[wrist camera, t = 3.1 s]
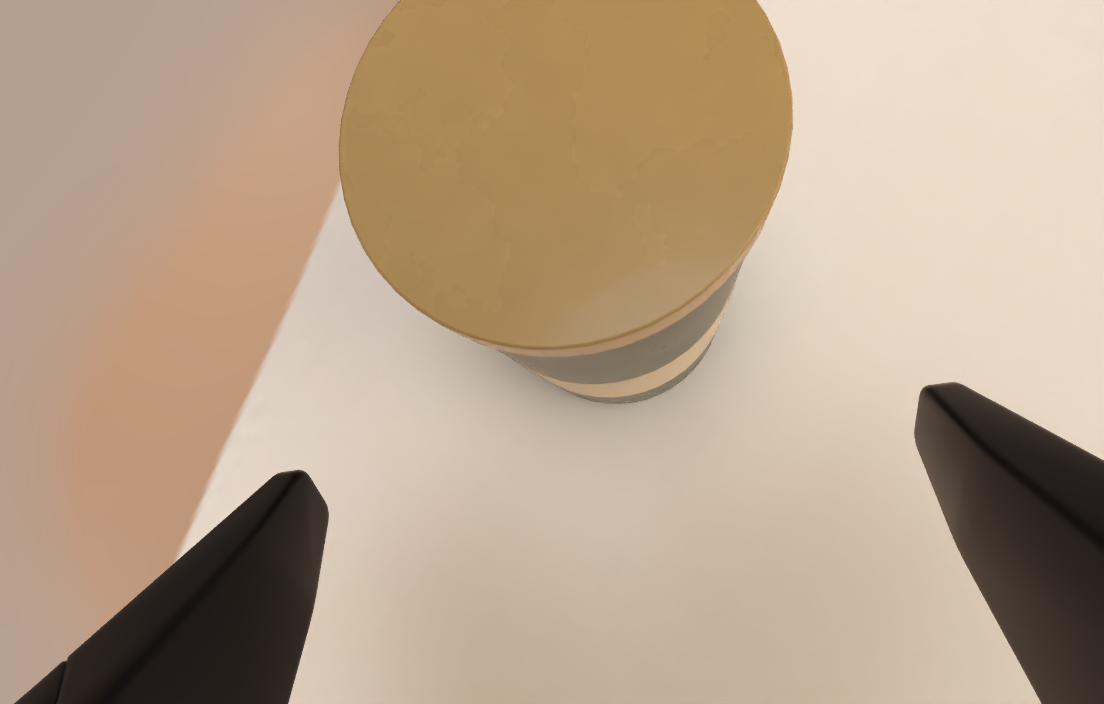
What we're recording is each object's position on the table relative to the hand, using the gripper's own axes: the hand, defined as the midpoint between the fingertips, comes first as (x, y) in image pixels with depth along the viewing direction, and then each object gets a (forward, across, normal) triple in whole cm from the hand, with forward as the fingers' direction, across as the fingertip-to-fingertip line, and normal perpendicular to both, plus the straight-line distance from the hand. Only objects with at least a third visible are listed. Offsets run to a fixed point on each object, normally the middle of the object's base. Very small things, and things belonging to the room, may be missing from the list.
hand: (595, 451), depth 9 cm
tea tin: (+11, 0, +5) cm, 12 cm away
